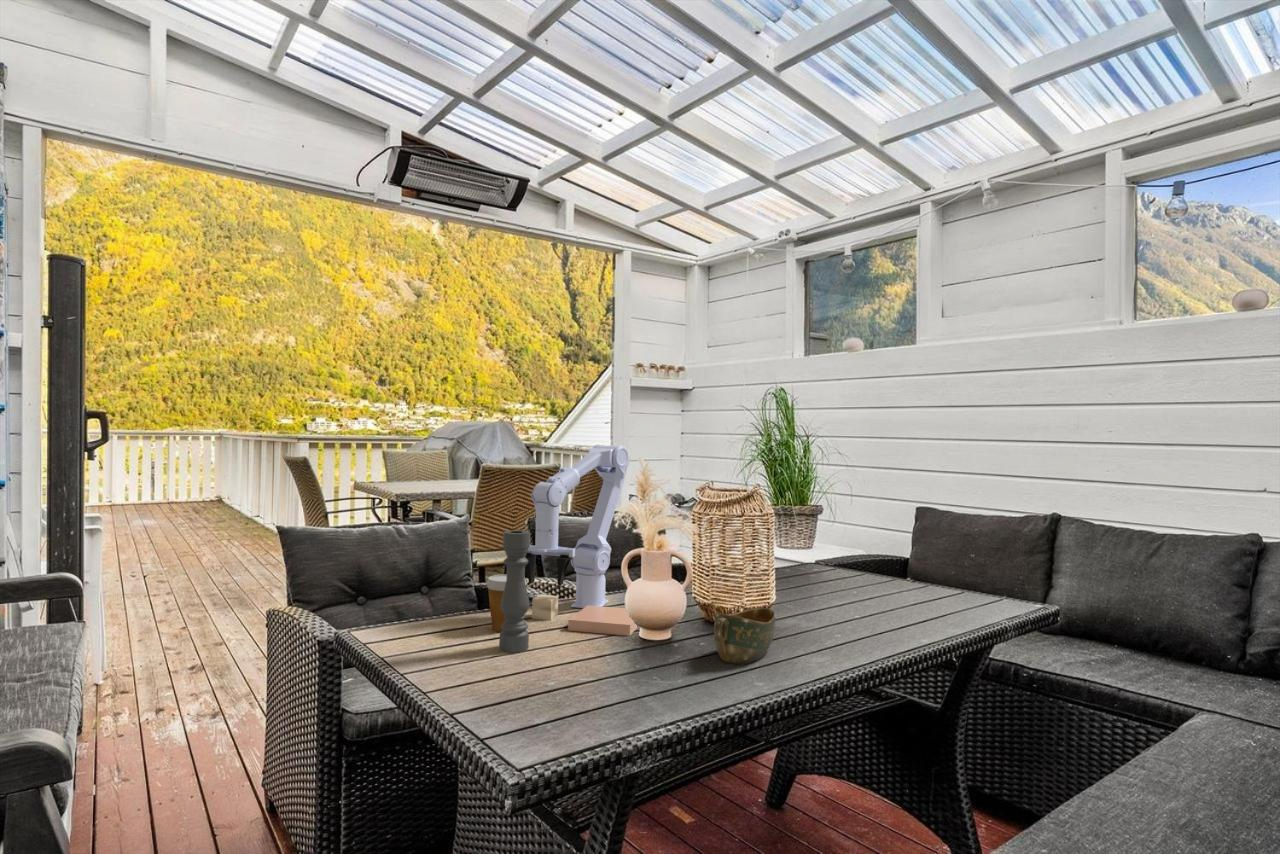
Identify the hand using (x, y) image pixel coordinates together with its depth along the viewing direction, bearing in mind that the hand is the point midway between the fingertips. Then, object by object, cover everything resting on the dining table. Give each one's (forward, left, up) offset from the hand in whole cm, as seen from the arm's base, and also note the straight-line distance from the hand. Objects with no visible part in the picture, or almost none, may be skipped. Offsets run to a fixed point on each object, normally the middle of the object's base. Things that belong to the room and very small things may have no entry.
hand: (545, 583), depth 184 cm
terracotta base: (+2, +17, -8) cm, 19 cm away
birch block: (0, 0, -8) cm, 8 cm away
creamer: (+17, +51, -9) cm, 54 cm away
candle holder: (+27, +3, -8) cm, 28 cm away
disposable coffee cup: (+13, -5, -8) cm, 16 cm away
